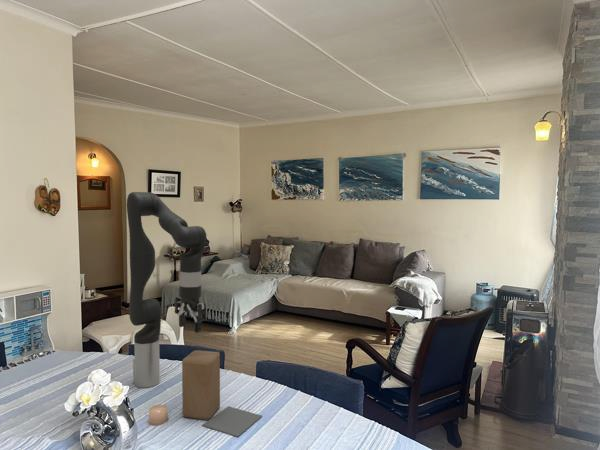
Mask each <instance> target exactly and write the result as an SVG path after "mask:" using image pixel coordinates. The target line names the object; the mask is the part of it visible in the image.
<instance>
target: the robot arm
mask: <svg viewBox="0 0 600 450" xmlns="http://www.w3.org/2000/svg"><path fill="white" fill-rule="evenodd" d="M126 214H127V222H128V223H127V224H128V229H129V230H128V233H129V269H130V270H129V271H130V289H129V291H130V292H129V303H128V304H129V306H128V313H129V320H130V322H131V324H132V325H133V326H142V325H144V326H143V327H142V328H141V329H140V330H138V331H137V332H135V333H134V337H133V338H134V340H133V341H134V358H133V360H132V382H133V384H134V385H135V387H138V388H141V389H142V388H144V389H146V388H151V387H154V386H156V385H158V384H159V383H160V381H161V380H160V379H161V378H160V377H161V375H160V374H161V373H160V372H161V370H160V366H161V365H160V334H161V329H162V328H161V323H162V309H161V305H160V301H158V299H156V298H149V299H148V298H147V299H144V292H145V288H146V285H147V283H148V282H149V280H150V279H151V276H152V275H153V273H154V271H155V268H156V249H155V247H154V245H153V243H152V242H151V240H150V239H149V237H148V236H147V234H146V233H145V231H144V228H143V223H142V217H149V216H154V217H156V218H157V219H158V220H157V221H158V225H159V226H160V227H161V229H163V230H164V231H165V232H166V233H168V234H169V235H170V236H171V238H172V239H173V241H174V242H175V244H176V245H177V246H179V247H181V248H190V249H189V251H187V252H186V253H183V254H182V255H181V256H180V259H179V261H180V262H179V263H180V265H179V278H178V281H179V283H178V296H177V297H175V299H174V301H175V302H174V314H176V315H177V316H178V327H180V328H183V327H185V326H186V314H187V313H189V315H190V316H191V317H192V318H193V320H194V327H193V328H194V331H193V332H194V333H196V334H197V333H201V331H202V322H204V321H206V320H207V305H206V302H203V303H202V302H200V298H202V284H203V283H202V279H203V277H202V258H203V254H204V250H205V247H206V242H207V232H206V230H205V228H204V227H202V226H200V225H195V226H189V225H188V223H187V220H185V219H184V218H182V217H181V216H179V215H178V214H176V213H175V212H173V211H172V210H171V209H170V208H169V207H168V206H167V205H166V203H165V202H163V200H162V199H161V198H160V197H159V196H158V195H157V194H156V193H154V192H151V191H150V192H149V191H132V192H129V194H128V195H127V199H126Z"/></svg>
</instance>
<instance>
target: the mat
mask: <svg viewBox="0 0 600 450" xmlns="http://www.w3.org/2000/svg"><path fill="white" fill-rule="evenodd" d="M262 418H263V415H261V414H258V413H253V412H250V411H246V410H243V409H239V408H236V407H232V406H230V405H229V406H226V407H225V408H223V409H222V410H221V411H219V412H218V413H217V414H215V415H213V416H212V417H211V418H210V419H208V420H206V421H205V422H204V423H203V424H202V425H201V426H202V427H204V428H206V429H210V430H214V431H217V432H220V433H223V434H226V435H229V436H232V437H235V438H239V437H240V436H241V435H243V434H244V433H245V432H246V431H247V430H249V429H250V428H251V427H252V426H253V425H255V423H257V422H258V421H259V420H261V419H262Z"/></svg>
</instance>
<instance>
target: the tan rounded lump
mask: <svg viewBox="0 0 600 450" xmlns="http://www.w3.org/2000/svg"><path fill="white" fill-rule="evenodd" d="M168 421H169V407H168V405H166V404H156V405H153V406H151V407H149V409H148V424H149V425H151V426H161V425H163V424H166V423H167V422H168Z"/></svg>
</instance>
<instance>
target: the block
mask: <svg viewBox="0 0 600 450" xmlns="http://www.w3.org/2000/svg"><path fill="white" fill-rule="evenodd" d="M220 357H221V355H220V352H219V351H210V350H209V351H208V350H200V349H199V350H196V349H195V350H193V351H192V352H190V353H189V354H188V355H187V356H185V357H184V358H182V361H181V369H182V370H181V378H182V379H181V381H182V382H181V383H182V384H181V385H182V417H184V418H190V419H198V420H206V421H208V420H210V419H211V418H212V417H214V414H215V413H216V412H217V411H218V410H219V408H220V407H221V369H220V368H221V360H220V359H221V358H220Z"/></svg>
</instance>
